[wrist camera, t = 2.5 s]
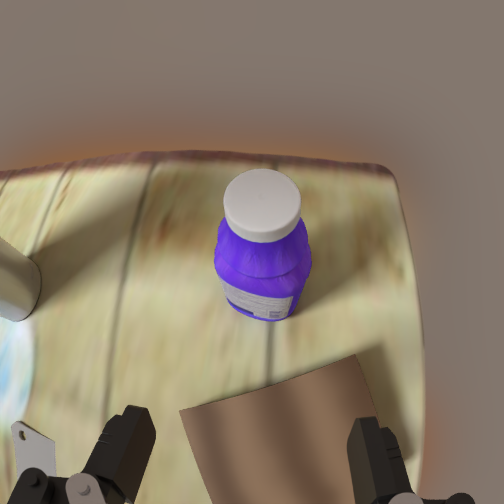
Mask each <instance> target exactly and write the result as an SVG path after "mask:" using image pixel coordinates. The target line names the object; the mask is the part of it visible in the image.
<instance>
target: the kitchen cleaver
mask: <svg viewBox="0 0 504 504" xmlns="http://www.w3.org/2000/svg"><path fill="white" fill-rule="evenodd" d="M11 429H12V435H13V440H14V446H15V456H16V464H17V478H18V479H19V477H20V475H21V474H22V472H23V471H24V470H26V469H28V468H31V467H35V468H39V469H41V470H42V471H43V472H44V473H45V474H46V475H47V476H53V477H57V476H56V458H55V442H54V441H52V440H50V439H49V438H47V437H45V436H43V435H41V434H40V433H38V432H36V431H35V430H33V429H31V428H30V427H28V426H26V425H25V424H23V423H21V422H20V421H16V422H15V423H14V424H13V425H12V426H11ZM22 431H24V432H25V434H26V440H24V439H23V437H22Z"/></svg>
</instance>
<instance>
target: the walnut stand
mask: <svg viewBox="0 0 504 504" xmlns="http://www.w3.org/2000/svg"><path fill="white" fill-rule="evenodd" d="M179 412H180V416H181V419H182V422H183V425H184V428H185V431H186V434H187V437H188V440H189V443H190V446H191V449H192V452H193V454H194V457H195V460H196V463H197V465H198V468H199V471H200V473H201V476H202V479H203V481H204V484H205V486H206V489H207V491H208V493H209V496H210V498H211V501H212V503H213V504H355V499H354V492H353V486H352V479H351V473H350V467H349V461H348V455H347V440H348V437H349V434H350V432H351V429H352V427H353V424H354V421H355V419H356V418H360V417H369V416H376V418H377V420H378V423H379V426H380V428H381V425H380V422H379V419H378V416H377V413H376V410H375V407H374V404H373V401H372V398H371V396H370V393H369V390H368V387H367V384H366V382H365V379H364V376H363V373H362V371H361V368H360V365H359V363H358V360H357V357H356V355H355V354H354V355H352V356H349V357H347V358H344V359H342V360H339V361H337V362H334V363H332V364H329V365H327V366H324V367H322V368H319V369H317V370H314V371H311V372H309V373H306V374H303V375H300V376H298V377H295V378H292V379H289V380H286V381H283V382H280V383H277V384H274V385H271V386H268V387H265V388H262V389H259V390H255V391H252V392H249V393H245V394H242V395H239V396H235V397H232V398H228V399H224V400H220V401H217V402H213V403H209V404H205V405H201V406H197V407H192V408H188V409H184V410H180V411H179Z"/></svg>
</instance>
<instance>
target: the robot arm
mask: <svg viewBox="0 0 504 504" xmlns="http://www.w3.org/2000/svg"><path fill="white" fill-rule="evenodd" d="M40 288H41V276H40V272H39V269H38V267H37V265H36V264H35V263H34V262H33V261H32V260H30V259H29V258H27V257H26V256H25V255H23V254H22V253H21V252H19V251H18V250H17V249H15V248H14V247H13V246H11V245H10V244H9V243H8V242H6V241H5V240H4V239H2V238H1V237H0V317H4V318H6V319H9V320H11V321H21V320H23V319H24V318H26V317H27V316H28V315H29V314H30V313H31V311H32V310H33V308H34V306H35V304H36V302H37V300H38V297H39V293H40ZM155 439H156V430H155V427H154V425H153V422H152V419H151V417H150V414H149V411H148V409H147V408H144V407H138V406H133V405H128V406H127V407H126V408H125V410H124V412H123V415H122V416H121V415H117V414H116V415H115V416H114V417H112V418H111V419H110V420H109V421H108V422H107V423H106V425H105V427H104V429H103V431H102V434H101V435H100V437H99V439H98V442H97V443H96V445H95V447H94V449H93V451H92V453H91V455H90V457H89V459H88V461H87V463H86V466H85V468H84V469H83V471H82V472H81V473H77V474H74V475H72V476H71V477H70V478H62V477H53V476H47V475H46V474H45V473H44V472H43V471H42V470H41V469H39V468H35V467H31V468H28V469H26V470H24V471H23V472H22V474H21V475H20V477H19V479H18V481H17V484H16V486H15V488H14V490H13V492H12V494H11V496H10V499H9V501H8V503H7V504H124V503H125V502H126V503H130V504H134V502H135V499H136V496H137V493H138V490H139V487H140V484H141V481H142V478H143V475H144V472H145V469H146V466H147V463H148V461H149V458H150V455H151V452H152V449H153V446H154V443H155ZM347 455H348V461H349V467H350V473H351V479H352V486H353V492H354V499H355V504H475V502H474V500H473V498H472V497H471V496H470V495H468V494H466V493H457V494H454V495H453V496H451V497H450V498H449V499H447V500H426V499H423V498H420V497H419V496H417V495H416V494H415V493H414V492H413V490H412V488H411V486H410V482H409V479H408V475H407V472H406V468H405V465H404V461H403V458H402V457H401V456H402V455H401V452H400V449H399V445H398V442H397V439H396V436H395V435H394V434H393V433H392V432H391V430H390V429H389V428H388V427H385V428H380V426H379V423H378V420H377V418H376V416H369V417H360V418H356V419H355V421H354V424H353V427H352V429H351V432H350V434H349V437H348V440H347Z"/></svg>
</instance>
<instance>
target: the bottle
mask: <svg viewBox="0 0 504 504" xmlns="http://www.w3.org/2000/svg"><path fill="white" fill-rule="evenodd" d="M223 204H224V210H225V217H224V218H223V220H222V221H221V223H220V226H219V228H218V243H217V245H216V248H215V258H214V264H215V269H216V271H217V274H218V277H219V279H220V282H221V285H222V287H223V290H224V292H225V295H226V297H227V300H228V302H229V303H230V305H231V306H232V307H233V308H234V309H236V310H237V311H239V312H241V313H243V314H245V315H247V316H249V317H252V318H255V319H259V320H264V321H280V320H283V319H285V318H287V317H288V316H289V315H290V314H291V313H292V312H293V311H294V309H295V307H296V305H297V302H298V300H299V297H300V294H301V292H302V290H303V287H304V284H305V282H306V279H307V278H308V276H309V273H310V269H311V265H312V261H311V251H310V247H309V244H308V235H307V230H306V227H305V224H304V222H303V220H302V219H301V217H300V214H301V210H300V208H301V195H300V192H299V189H298V187H297V185H296V184H295V183H294V182H293V181H292V180H291V179H290V178H289V177H288V176H286V175H285V174H283V173H281V172H278V171H275V170H271V169H253V170H249V171H246V172H243V173H241V174H240V175H238V176H237V177H235V178H234V179H233V180H232V181H231V182H230V183H229V185H228V186H227V188H226V190H225V193H224V199H223Z"/></svg>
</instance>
